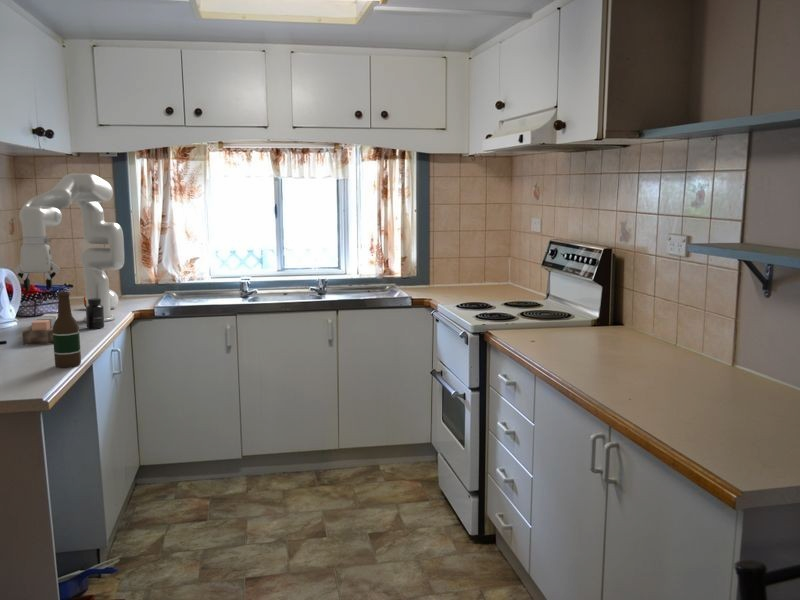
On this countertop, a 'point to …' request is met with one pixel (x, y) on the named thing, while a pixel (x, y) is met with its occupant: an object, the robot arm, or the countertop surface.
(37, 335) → the key console
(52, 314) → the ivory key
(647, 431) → the countertop surface
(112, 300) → the potion bottle
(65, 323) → the beer bottle
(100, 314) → the supplement bottle
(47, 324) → the terracotta key
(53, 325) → the slate key
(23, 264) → the robot arm
